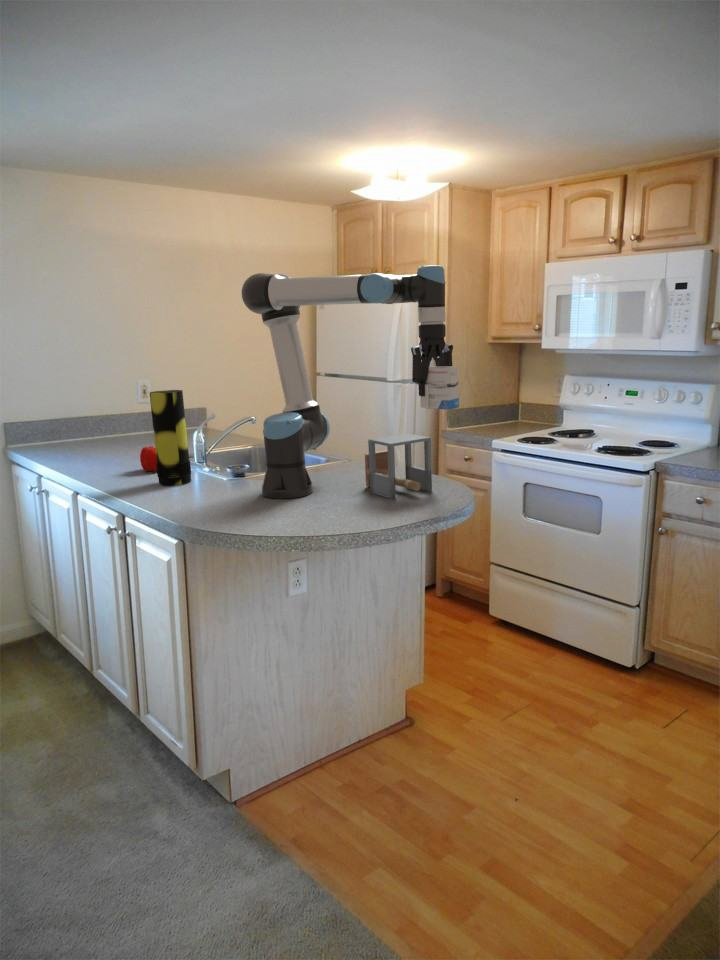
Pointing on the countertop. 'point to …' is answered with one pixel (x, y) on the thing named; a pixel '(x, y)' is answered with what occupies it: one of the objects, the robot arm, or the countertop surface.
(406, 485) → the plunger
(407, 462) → the grey open frame holder
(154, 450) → the tomato
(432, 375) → the ink box
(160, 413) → the container
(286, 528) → the countertop surface
